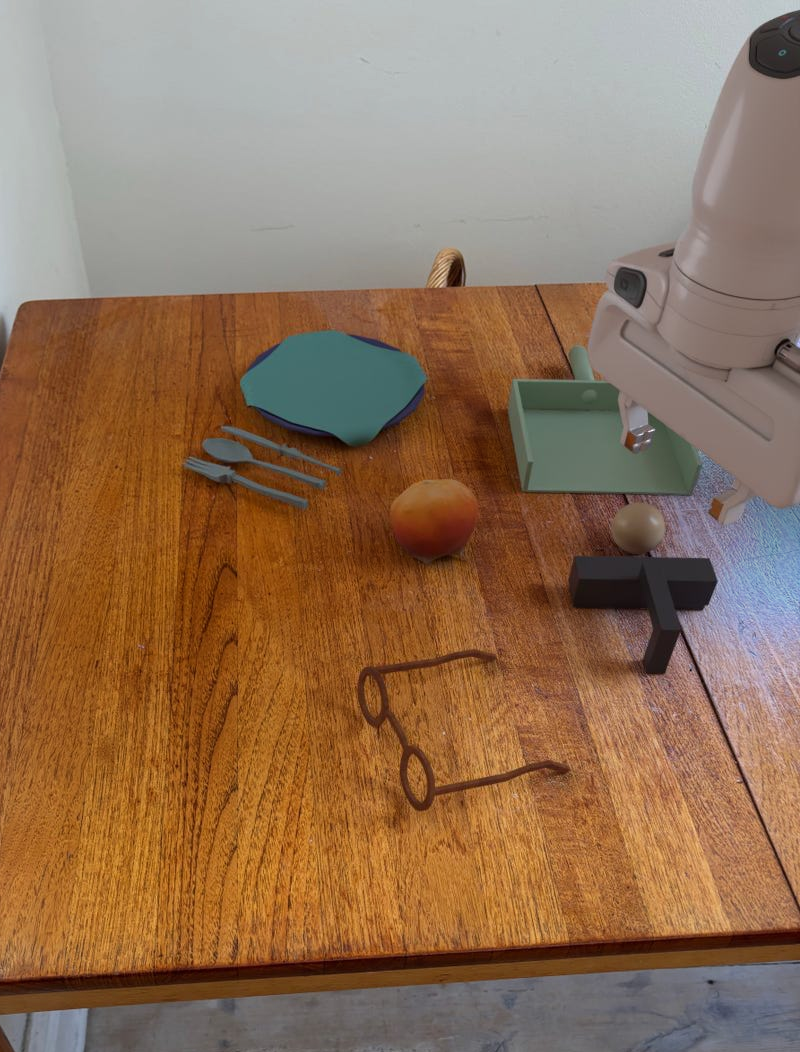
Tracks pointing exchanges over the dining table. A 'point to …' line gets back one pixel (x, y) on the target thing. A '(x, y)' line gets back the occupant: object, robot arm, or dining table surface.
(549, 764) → the glasses
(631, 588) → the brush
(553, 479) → the dustpan
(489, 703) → the dining table surface
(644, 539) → the ball
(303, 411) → the cutlery set
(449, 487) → the fruit
